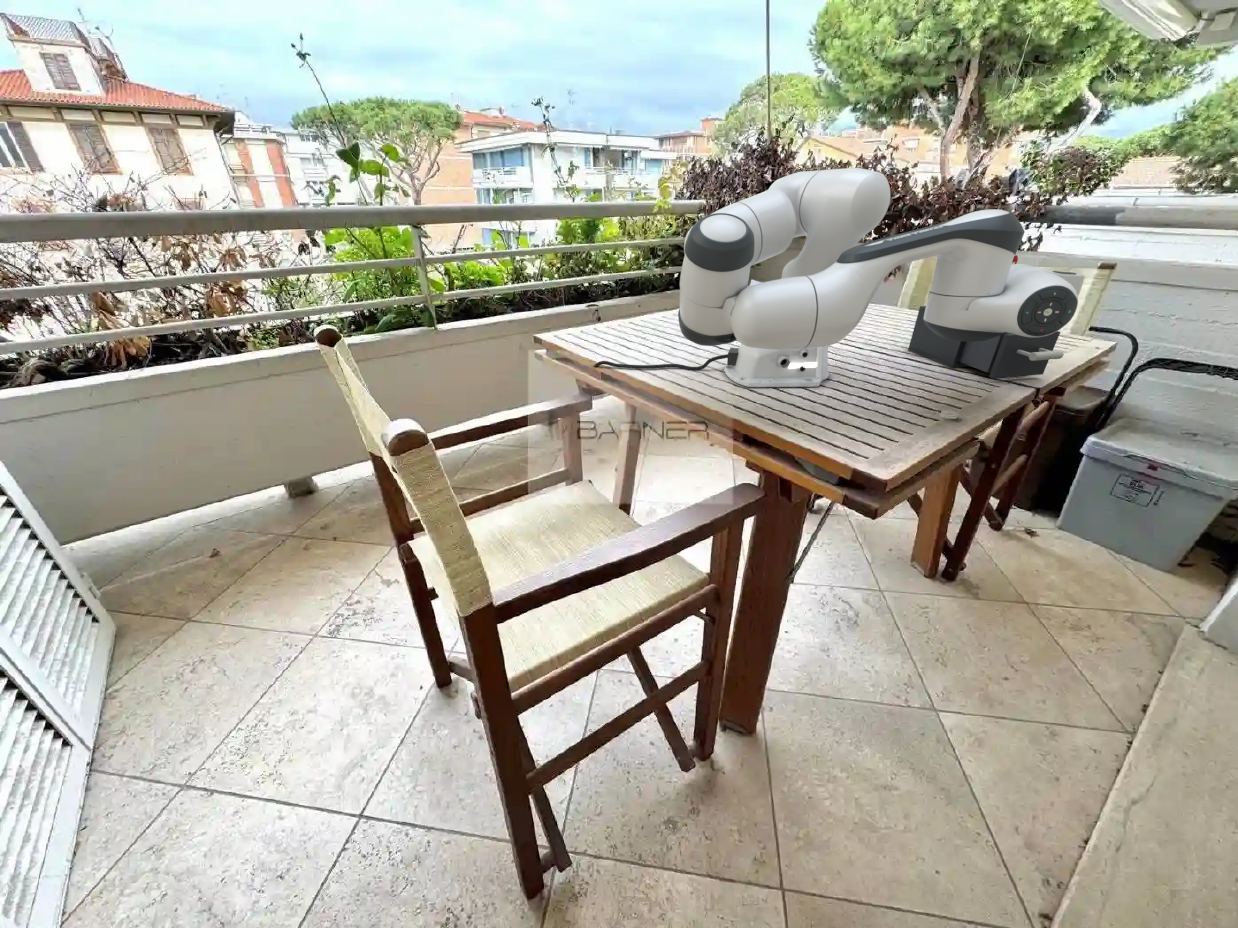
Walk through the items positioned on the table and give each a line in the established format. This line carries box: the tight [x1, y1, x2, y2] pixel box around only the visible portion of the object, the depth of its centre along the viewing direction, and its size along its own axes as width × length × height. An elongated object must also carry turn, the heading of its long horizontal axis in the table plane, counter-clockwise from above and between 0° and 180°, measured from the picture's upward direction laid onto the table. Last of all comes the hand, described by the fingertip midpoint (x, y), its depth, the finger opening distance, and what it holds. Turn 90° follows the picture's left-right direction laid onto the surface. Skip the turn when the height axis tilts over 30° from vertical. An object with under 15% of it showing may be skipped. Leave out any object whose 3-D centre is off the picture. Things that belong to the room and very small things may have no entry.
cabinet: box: [907, 305, 971, 369], centre depth 113 cm, size 15×13×11 cm
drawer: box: [958, 330, 1064, 379], centre depth 102 cm, size 18×12×9 cm, turn 9°
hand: (991, 281), depth 91 cm, fingers closed on soda can, 5 cm apart
